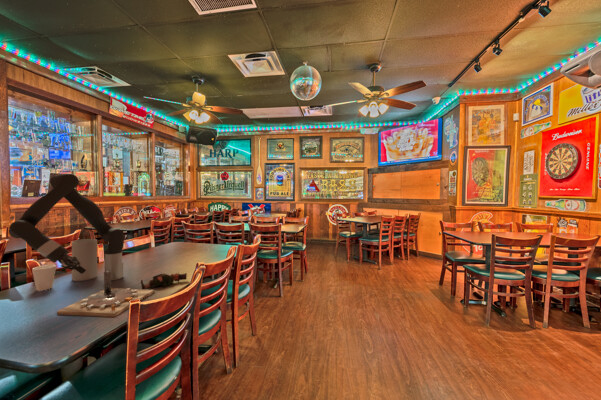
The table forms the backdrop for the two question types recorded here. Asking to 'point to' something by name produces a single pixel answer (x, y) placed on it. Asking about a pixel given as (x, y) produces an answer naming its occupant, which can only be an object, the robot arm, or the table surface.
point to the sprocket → (108, 295)
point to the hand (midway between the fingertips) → (84, 272)
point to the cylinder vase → (85, 258)
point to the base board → (108, 310)
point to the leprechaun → (164, 280)
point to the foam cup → (44, 276)
